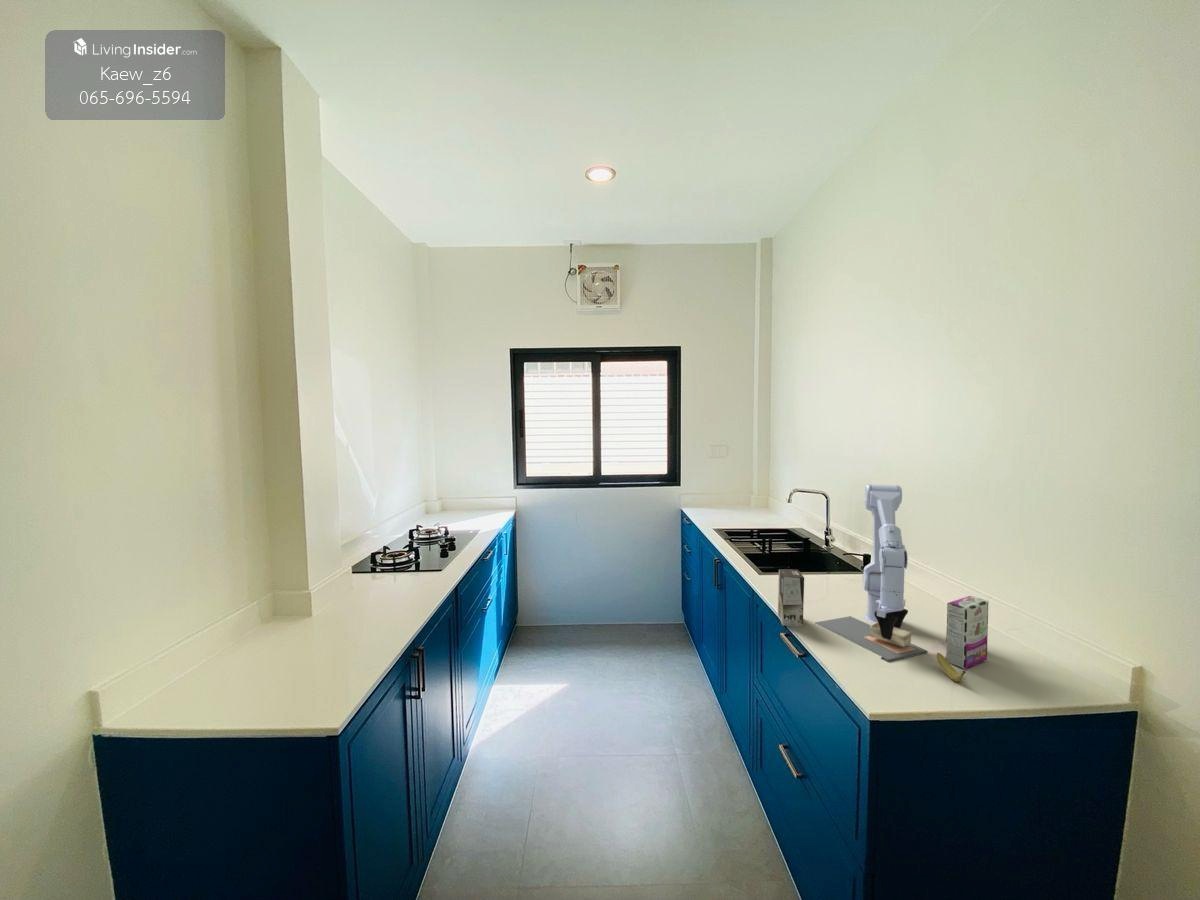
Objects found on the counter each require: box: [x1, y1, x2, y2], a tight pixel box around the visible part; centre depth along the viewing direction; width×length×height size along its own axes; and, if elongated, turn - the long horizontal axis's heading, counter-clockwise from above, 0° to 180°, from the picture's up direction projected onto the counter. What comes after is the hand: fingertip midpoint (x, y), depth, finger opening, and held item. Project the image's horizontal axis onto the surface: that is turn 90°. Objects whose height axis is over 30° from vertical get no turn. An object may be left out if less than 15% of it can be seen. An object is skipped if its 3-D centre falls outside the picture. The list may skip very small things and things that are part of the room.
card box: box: [870, 622, 912, 647], centre depth 141 cm, size 9×5×3 cm, turn 38°
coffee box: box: [777, 568, 805, 628], centre depth 157 cm, size 9×6×16 cm
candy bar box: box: [945, 595, 989, 670], centre depth 131 cm, size 11×5×16 cm, turn 117°
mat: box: [814, 615, 928, 663], centre depth 146 cm, size 15×26×1 cm, turn 20°
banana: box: [935, 652, 967, 683], centre depth 123 cm, size 10×2×4 cm, turn 177°
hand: (890, 635), depth 141 cm, fingers closed on card box, 5 cm apart
